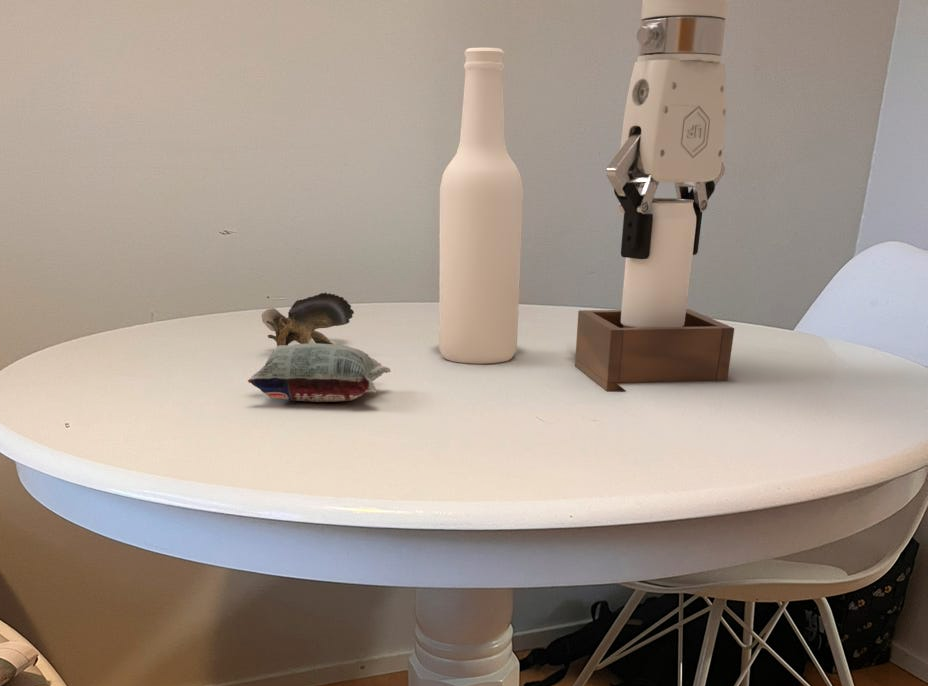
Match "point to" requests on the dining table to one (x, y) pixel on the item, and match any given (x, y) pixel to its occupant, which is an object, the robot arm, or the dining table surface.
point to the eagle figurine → (308, 319)
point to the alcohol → (480, 225)
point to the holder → (651, 350)
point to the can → (661, 269)
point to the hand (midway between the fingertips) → (659, 254)
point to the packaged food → (317, 373)
